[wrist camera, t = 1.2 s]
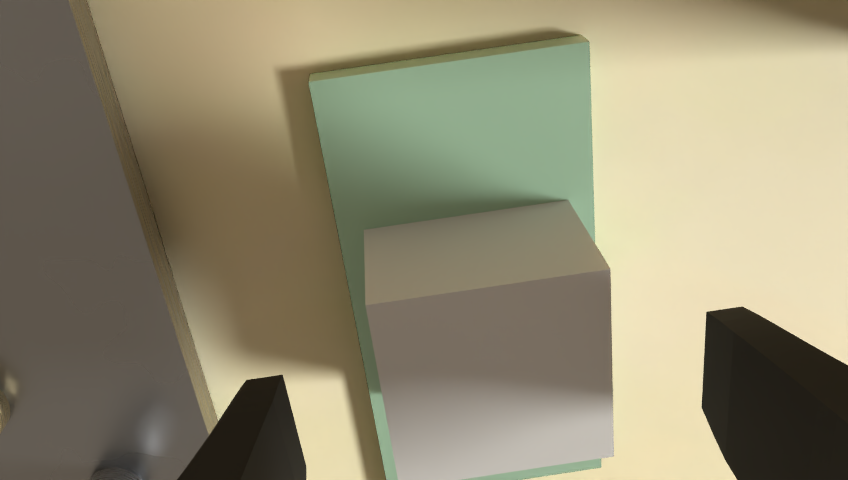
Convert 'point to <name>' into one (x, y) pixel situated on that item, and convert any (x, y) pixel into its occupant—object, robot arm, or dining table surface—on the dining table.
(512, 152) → the board
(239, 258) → the dining table surface
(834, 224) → the dining table surface
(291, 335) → the dining table surface
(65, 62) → the chassis
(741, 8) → the dining table surface
